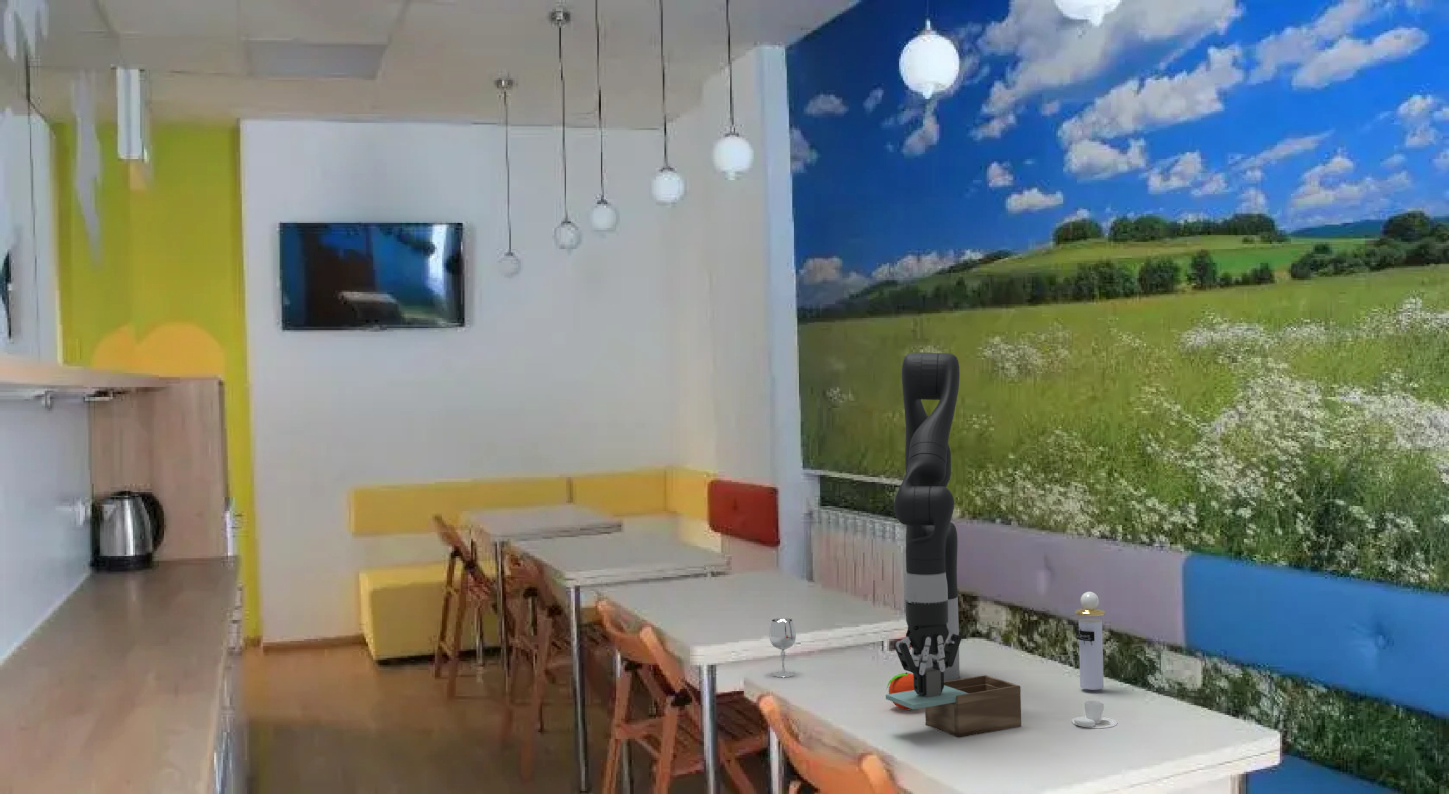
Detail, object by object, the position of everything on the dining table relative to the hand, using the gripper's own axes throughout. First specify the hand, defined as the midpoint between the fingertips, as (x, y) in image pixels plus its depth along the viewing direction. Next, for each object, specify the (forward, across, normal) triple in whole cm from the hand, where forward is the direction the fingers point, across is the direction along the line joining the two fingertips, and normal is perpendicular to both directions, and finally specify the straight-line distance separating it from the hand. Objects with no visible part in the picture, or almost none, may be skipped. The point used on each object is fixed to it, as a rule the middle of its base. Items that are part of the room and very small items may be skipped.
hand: (929, 693), depth 220 cm
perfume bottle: (+8, -46, -8) cm, 47 cm away
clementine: (+8, -6, -16) cm, 19 cm away
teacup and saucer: (+8, -27, +8) cm, 30 cm away
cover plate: (+1, 0, 0) cm, 1 cm away
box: (+7, -10, 0) cm, 12 cm away
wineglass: (+7, 0, -54) cm, 55 cm away
